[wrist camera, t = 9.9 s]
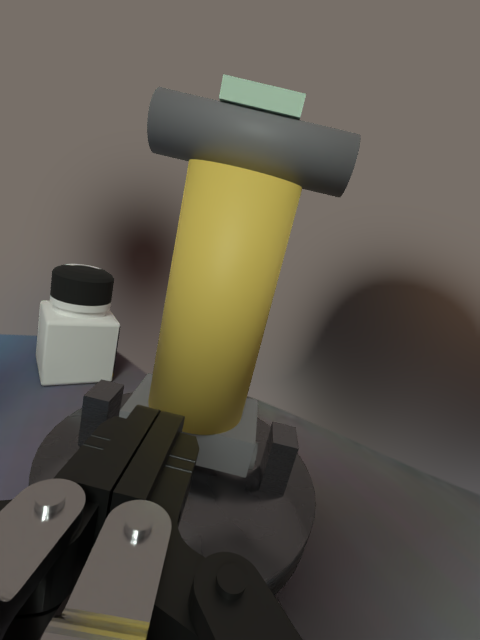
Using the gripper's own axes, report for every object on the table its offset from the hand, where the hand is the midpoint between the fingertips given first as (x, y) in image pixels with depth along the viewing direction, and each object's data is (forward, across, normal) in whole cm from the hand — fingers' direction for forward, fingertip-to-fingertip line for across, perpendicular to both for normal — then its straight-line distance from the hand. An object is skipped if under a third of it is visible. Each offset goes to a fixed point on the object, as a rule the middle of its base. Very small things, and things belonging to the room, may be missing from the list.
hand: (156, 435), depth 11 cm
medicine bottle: (+27, +16, +14) cm, 34 cm away
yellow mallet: (+11, 0, +8) cm, 13 cm away
